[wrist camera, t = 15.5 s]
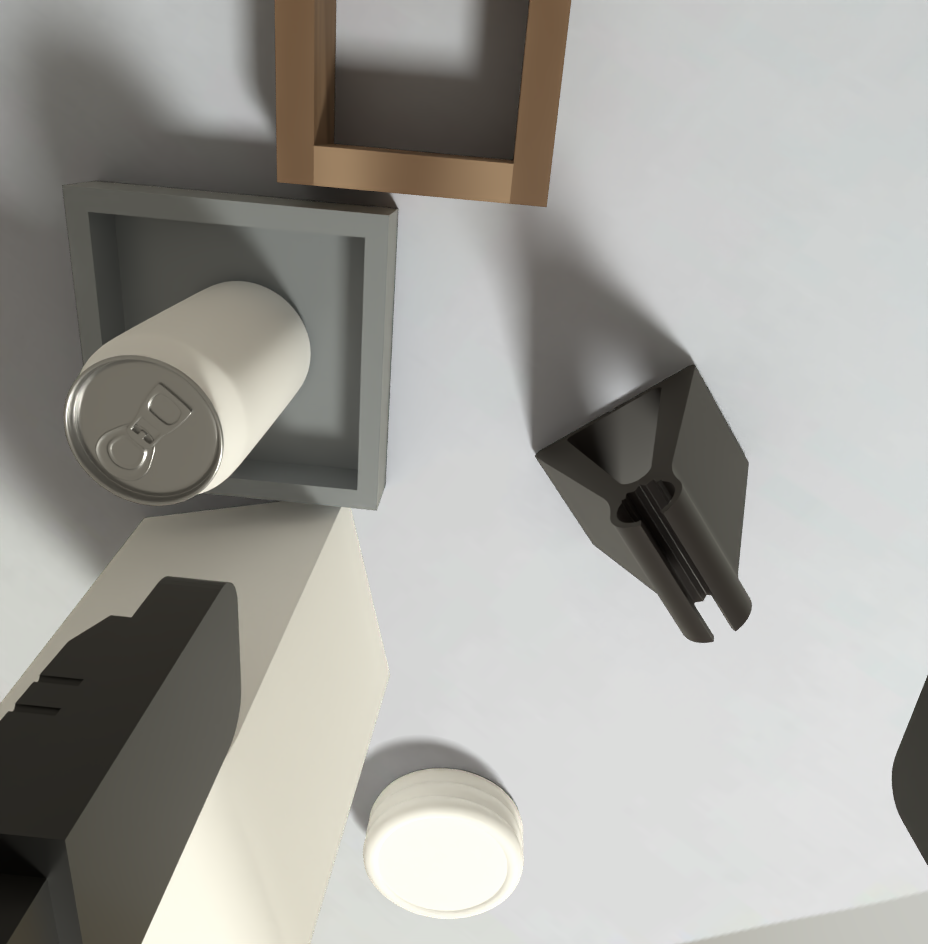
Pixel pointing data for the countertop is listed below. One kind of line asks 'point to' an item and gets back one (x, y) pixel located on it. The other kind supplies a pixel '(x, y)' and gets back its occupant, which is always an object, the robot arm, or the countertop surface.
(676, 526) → the phone stand
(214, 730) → the robot arm
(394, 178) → the socket block
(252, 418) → the can
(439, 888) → the white round tub
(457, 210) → the countertop surface
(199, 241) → the tray
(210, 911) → the milk
